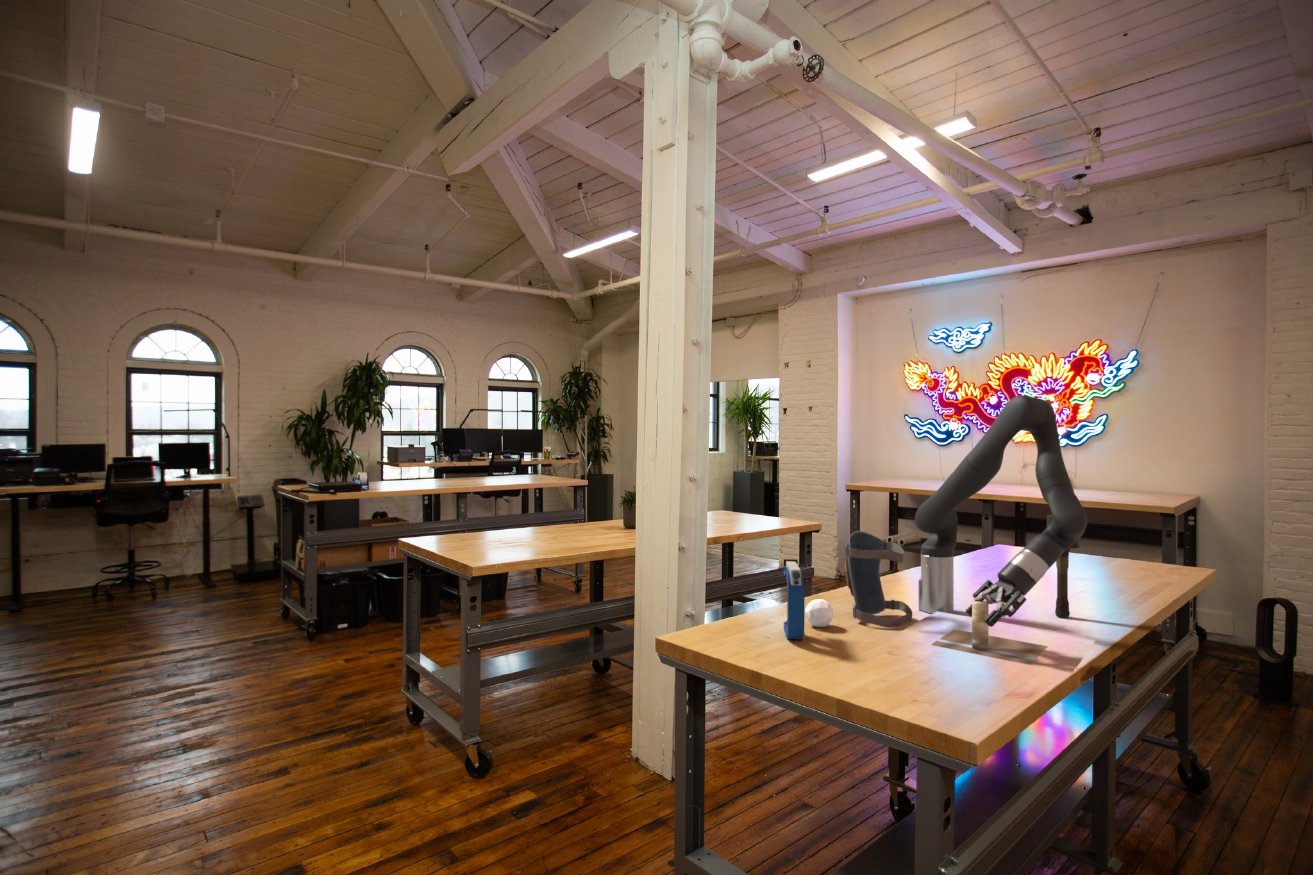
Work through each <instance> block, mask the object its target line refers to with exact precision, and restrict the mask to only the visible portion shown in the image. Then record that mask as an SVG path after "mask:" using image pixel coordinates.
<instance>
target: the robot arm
mask: <svg viewBox="0 0 1313 875" xmlns="http://www.w3.org/2000/svg"><path fill="white" fill-rule="evenodd" d="M1056 418H1057V417H1056V413H1055V410H1054V407H1053V406H1052V405H1051V402H1048V401H1047V400H1044V399H1042V398H1039V397H1034V396H1031V395H1027V394H1026V395H1023V394H1022V395H1021V394H1020V395H1017V396H1014V397H1012V398H1011V399H1010V400H1009V401H1008V402H1007V403H1006V404H1005V406H1004V407H1003V408H1002V410H1001V411H1000V412H999V414H998V415H997V417H996V418H995V420H994V421H993V423H992V424H991V426H990V427H989V428H988V430H987V431H986V432H985V434H984V435H983V436H982V437H981V439H980V440H979V441H978V442H977V443H976V444H975V446H974V447H973V448H972V449H971V450H970V452H969V453H968V454H966V456H965V457H964V458H963V459H962V461H961V462H960V463H959V464H958V465H957V466H956V468H955V469H954V471H952V472H951V474H950V475H949V476H948V477H947V478H946V479H945V481H944V482H943V483H942V485H940V487H939V488H938V489H937V490H936V491H935V492H934V493H932V495H931V496H929V498H927V499H926V500H925V501H924V502H923V503H921V505H920V506H919V507H918V508H917V511H916V512H915V515H914V516H915V517H914V522H915V525H916V527H917V528H918V530H920V531H921V532H923V533H926V534H929V536H928V538H927V540H926V541H925V542H923V543H922V544H921V545H920V546H921V547H920V578H918V611H921V612H925V613H928V614H933V615H934V614H935V613H936V612H939V613H945V614H954V610H955V609H954V607H955V605H954V604H955V602H954V597H955V596H954V591H955V590H954V588H955V587H954V584H955V582H954V576H955V575H954V573H955V572H954V569H955V568H954V564H955V562H954V558H955V557H954V552H955V549H956V547H957V543H958V542H957V541H958V540H957V539H958V515H957V512H956V509H955V508H956V507H957V506H959V505H960V504H961V503H962V502H965V501H966V500H967V499H969V498H971V497H972V496H974V495H975V494H977V493H979V492H980V491H982V490H983V489H984V488H985V487H986V486H987V485H988V484H990V482H991V481H992V479H994V478H995V476H997V474H998V472H1000V470H1001V468H1002V464H1003V459H1004V453H1005V449H1006V448H1007V446H1008V444H1009V443H1011V441H1012V440H1013V439H1014V437H1015V436H1017V434H1019V432H1021V431H1025V432H1028V433H1030V434H1031V436H1032V438H1033V440H1034V442H1035V444H1036V450H1037V454H1036V463H1035V478H1036V480H1037V484H1038V487H1039V490H1040V492H1041V496H1042V498H1043V500H1044V502H1045V503H1046V504H1048V507H1049V508H1050V510H1049V511H1050V512H1051V515H1052V516H1053V521H1052V522H1051V524H1050V525H1049V526H1048V527H1047V526H1046V528H1045V529H1044V530H1043V531H1042V532H1041V533H1040V534H1038V535H1036V536H1035V537H1033V538H1032V539H1031V540H1030V541H1029V542H1028V543H1027V544H1026V545H1025V546H1024V547H1023V549H1021V550H1020V551H1019V552H1018V553H1016V554H1015V555H1014V556H1013V557H1012V558H1011V559H1010V560H1009V561H1008V562H1007V563H1006V565H1005V566H1004V567H1003V568H1001V570H1000V571H999V572H998V573H997V578H998V580H997V581H996V582H995V583H994V582H992V581H991V580H990V579H988V580H987V579H986V581H985V582H984V583H983V584H982V585H980V587H979V588H978V589H976V590H975V592H974V593H973V594H972V597H973V600H974V601H980V602H986V603H988V604H989V605H993V604H995V605H996V606H995V609H993V610H991V612H990V613H989V614H988V616H987V617H986V618H985V620H984V622H985V623H986V624H987V625H988V627H990V628H992V627H994V626H995V625H996V624H997V623H998V622H999V621H1000V620H1001V618H1002V617H1003V618H1004V617H1006V616H1008V617H1009V618H1012V617H1013V616H1014V615H1015V614H1016V613H1017V612H1018V610H1019V609H1020V608H1021V607H1022V606H1023V605H1024V603H1026V601H1027V598H1026V597H1025V596H1026V595H1027V594H1028V593H1029V592H1030V591H1031V590H1032V589H1033V588H1034V587H1035V586H1036V585H1037V584H1038V582H1039V581H1040V580H1041V579H1043V577H1044V576H1045V575H1046V573H1047V572H1048V571H1049V569H1050V568H1051V567H1052V566H1053V565H1054V564H1056V561H1057V560H1058V559H1059V557H1060V556H1061V555H1062V553H1064V552H1065V551H1066V550H1068V549H1069V548H1070V547H1071V546H1072V545H1073V544H1074V543H1076V542H1077V541H1078V542H1079V540H1080V539H1081V537H1082V536H1083V535H1084V533H1085V530H1086V528H1087V526H1088V517H1087V515H1086V512H1085V509H1084V507H1083V505H1082V503H1081V502H1080V499H1079V497H1078V496H1077V495H1076V493H1075V491H1074V488H1073V484H1072V480H1071V478H1070V476H1069V473H1068V471H1067V467H1066V465H1065V462H1064V457H1063V452H1062V448H1061V443H1060V435H1059V431H1058V425H1057V419H1056ZM1070 549H1071V548H1070ZM1011 607H1012V608H1011ZM965 613H966V614H967V615H968V616H969V617H970V618H972V603H970V605H969V606H968V607H967V608H966V609H965Z"/></svg>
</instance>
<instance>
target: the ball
mask: <svg viewBox="0 0 1313 875" xmlns="http://www.w3.org/2000/svg"><path fill="white" fill-rule="evenodd" d="M804 613H805V618H806V619H807V622H808V623H809V624H810V625H812V626H814V627H815V628H825V627H827V626H829V625H830V624H831V622H832V621H833V619H834V618H835V617H834V616H835V615H834V608H833V607H832V605H831V603H830V602H828V601H826V600H825V599H824V598H823V599H821V598H819V599H813V600H811V601H810V602H809V603H808V604H807V606H806V607H805V608H804Z"/></svg>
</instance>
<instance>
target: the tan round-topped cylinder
mask: <svg viewBox="0 0 1313 875" xmlns="http://www.w3.org/2000/svg"><path fill="white" fill-rule="evenodd" d="M971 604H972V617H971V632H972V648H974V649H977V650H988V635H989V626H988V625H987V624H986V623H985V622H984V620H985V618H986V617H987V616H988V615H989V614H990V613H989V610H990V609H989V606H990V604H988V603H986V602H980V601H975V600H974V601H972V602H971Z"/></svg>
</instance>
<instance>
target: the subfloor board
mask: <svg viewBox="0 0 1313 875" xmlns="http://www.w3.org/2000/svg"><path fill="white" fill-rule="evenodd" d="M930 646H935V647H939V648H945V649H949V650H954V651H960V652H964V653H968V654H973V655H978V656H985V657H989V658H994V659H999V660H1002V661H1003V660H1004V661H1007V662H1009V661H1010V662H1014V663H1017V664H1018V663H1019V664H1024V665H1029V666H1031V665H1032V663H1033V662H1034V661H1036V659H1038V658H1039V656H1040V655H1041V654H1042V653H1043V652H1044V651H1045V650H1046V649H1047V648H1048V646H1047V645H1044V644H1038V643H1031V642H1026V641H1020V640H1016V639H1010V638H1005V637H999V636H994V635H989V634H988V650H977V649H974V648H972V631H966V630H960V629H957V628H956V629H955V628H954V629H953V630H951V631H950V632H948V633H947V634H945V635H943V636H942V637H941V638H939V639H938V638H937V640H935V641H934V642H933V643H931V644H930Z"/></svg>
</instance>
